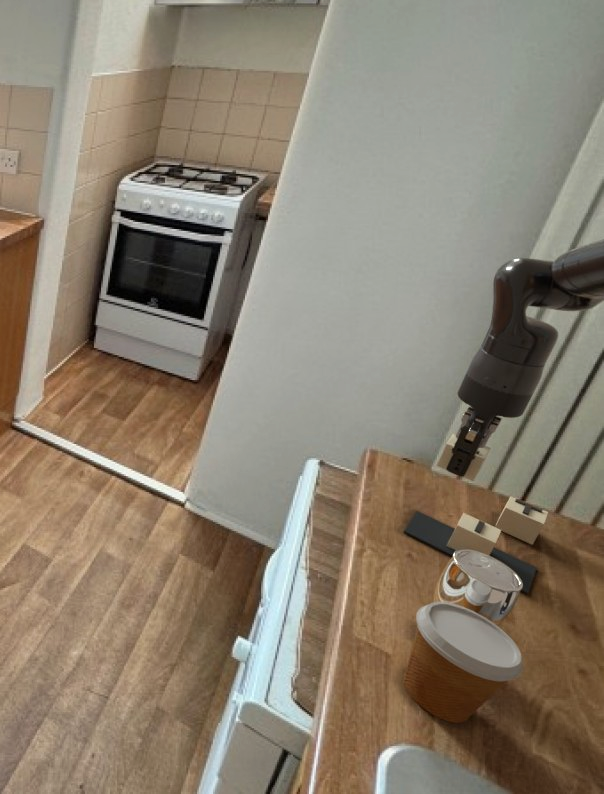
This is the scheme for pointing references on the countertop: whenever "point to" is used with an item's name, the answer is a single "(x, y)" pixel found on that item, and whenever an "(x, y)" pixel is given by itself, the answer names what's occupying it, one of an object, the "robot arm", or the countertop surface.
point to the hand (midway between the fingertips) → (458, 466)
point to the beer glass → (479, 585)
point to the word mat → (439, 537)
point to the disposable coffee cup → (458, 661)
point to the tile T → (521, 520)
